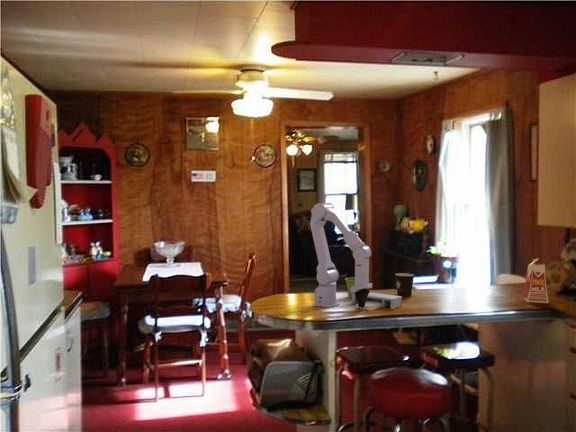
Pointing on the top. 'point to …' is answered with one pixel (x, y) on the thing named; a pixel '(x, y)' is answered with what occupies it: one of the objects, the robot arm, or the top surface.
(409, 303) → the top surface
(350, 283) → the plant pot
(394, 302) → the shelf
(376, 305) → the tile
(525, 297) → the milk carton
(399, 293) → the coffee mug
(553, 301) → the top surface
